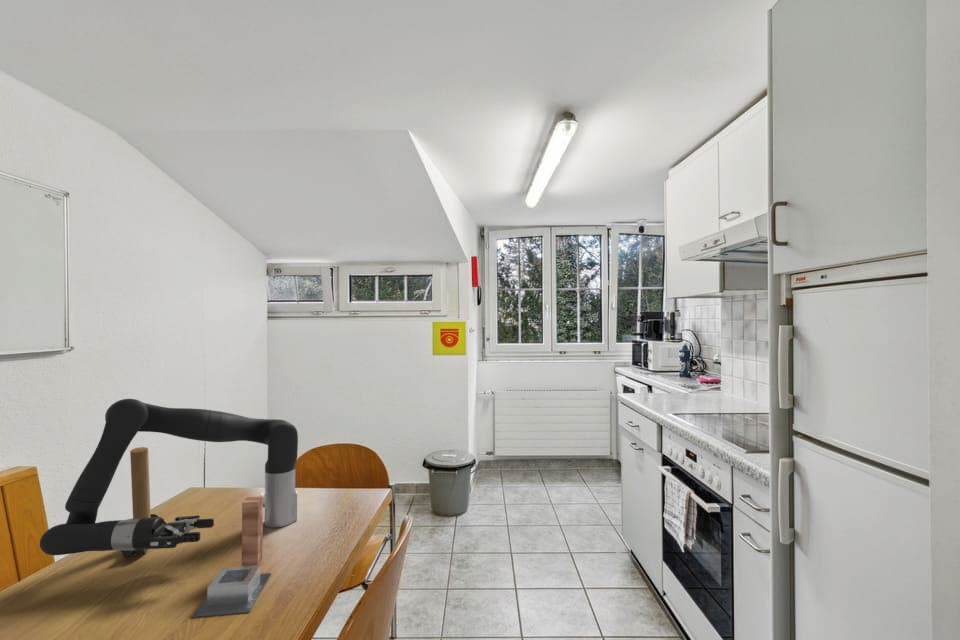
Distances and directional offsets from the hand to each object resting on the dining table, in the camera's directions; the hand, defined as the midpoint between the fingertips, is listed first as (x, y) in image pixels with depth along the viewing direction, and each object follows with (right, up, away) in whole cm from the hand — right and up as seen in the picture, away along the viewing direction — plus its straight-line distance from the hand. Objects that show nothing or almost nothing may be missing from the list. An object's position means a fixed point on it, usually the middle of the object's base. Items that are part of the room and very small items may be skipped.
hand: (206, 529), depth 121 cm
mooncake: (-4, -12, +51) cm, 53 cm away
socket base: (+13, -11, -11) cm, 21 cm away
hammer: (-28, -11, +14) cm, 33 cm away
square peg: (+11, -11, +2) cm, 16 cm away
